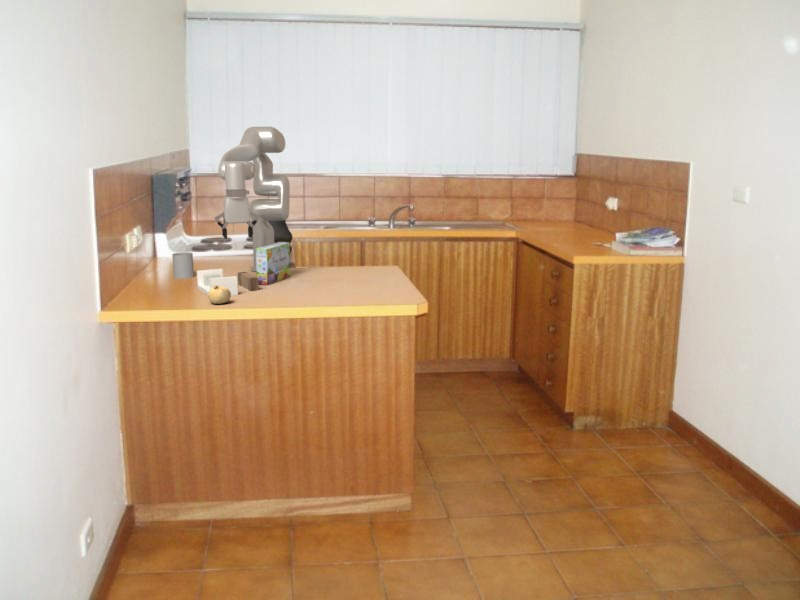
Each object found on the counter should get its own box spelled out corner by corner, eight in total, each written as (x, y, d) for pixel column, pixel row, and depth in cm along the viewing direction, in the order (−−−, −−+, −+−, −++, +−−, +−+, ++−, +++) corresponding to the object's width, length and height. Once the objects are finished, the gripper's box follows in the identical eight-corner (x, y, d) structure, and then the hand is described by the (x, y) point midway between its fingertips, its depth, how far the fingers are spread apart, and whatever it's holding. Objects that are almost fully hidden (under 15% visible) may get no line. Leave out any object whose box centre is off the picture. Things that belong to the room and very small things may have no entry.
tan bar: (246, 283, 318) (245, 271, 317) (258, 290, 304) (257, 277, 303) (238, 284, 316) (237, 272, 315) (250, 291, 302) (249, 278, 301)
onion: (210, 301, 285) (209, 282, 283) (232, 300, 285) (231, 281, 284) (206, 306, 277) (205, 286, 275) (229, 305, 277) (228, 286, 276)
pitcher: (244, 257, 387) (241, 206, 382) (267, 251, 406) (265, 203, 401) (279, 259, 379) (277, 207, 374) (302, 253, 399) (300, 204, 393)
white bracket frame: (222, 285, 314) (221, 268, 312) (237, 294, 296) (236, 276, 294) (197, 288, 309) (196, 270, 308) (211, 297, 291) (210, 279, 289)
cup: (188, 279, 328) (186, 255, 326) (170, 278, 330) (168, 255, 328) (197, 275, 336) (195, 252, 334) (179, 275, 338) (178, 252, 336)
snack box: (268, 285, 314) (267, 248, 310) (256, 285, 315) (254, 248, 312) (291, 276, 333) (290, 241, 330) (279, 276, 335) (277, 241, 332)
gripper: (255, 192, 311) (257, 235, 314) (211, 194, 304) (214, 237, 307) (260, 194, 304) (261, 237, 307) (215, 195, 297) (217, 239, 301)
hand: (237, 237), depth 307 cm, fingers open, 9 cm apart
